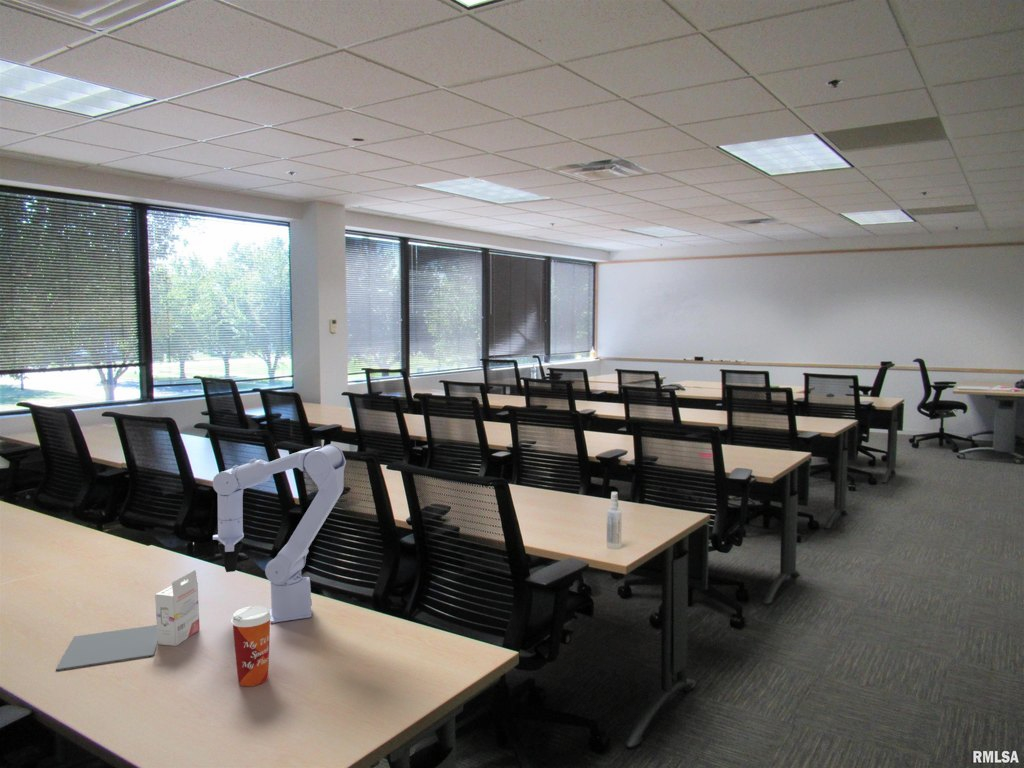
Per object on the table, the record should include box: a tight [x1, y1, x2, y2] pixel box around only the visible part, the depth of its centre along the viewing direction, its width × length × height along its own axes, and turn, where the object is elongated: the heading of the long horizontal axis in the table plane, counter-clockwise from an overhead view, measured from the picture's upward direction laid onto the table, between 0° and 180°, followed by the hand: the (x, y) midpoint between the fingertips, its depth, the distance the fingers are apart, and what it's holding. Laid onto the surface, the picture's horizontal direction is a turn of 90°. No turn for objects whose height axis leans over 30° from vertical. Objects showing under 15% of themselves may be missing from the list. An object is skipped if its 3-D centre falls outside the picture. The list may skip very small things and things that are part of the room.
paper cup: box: [230, 605, 272, 688], centre depth 136 cm, size 8×8×14 cm
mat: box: [55, 624, 158, 672], centre depth 151 cm, size 18×16×1 cm
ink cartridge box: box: [154, 569, 201, 647], centre depth 155 cm, size 9×5×15 cm, turn 169°
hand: (230, 570), depth 169 cm, fingers closed
